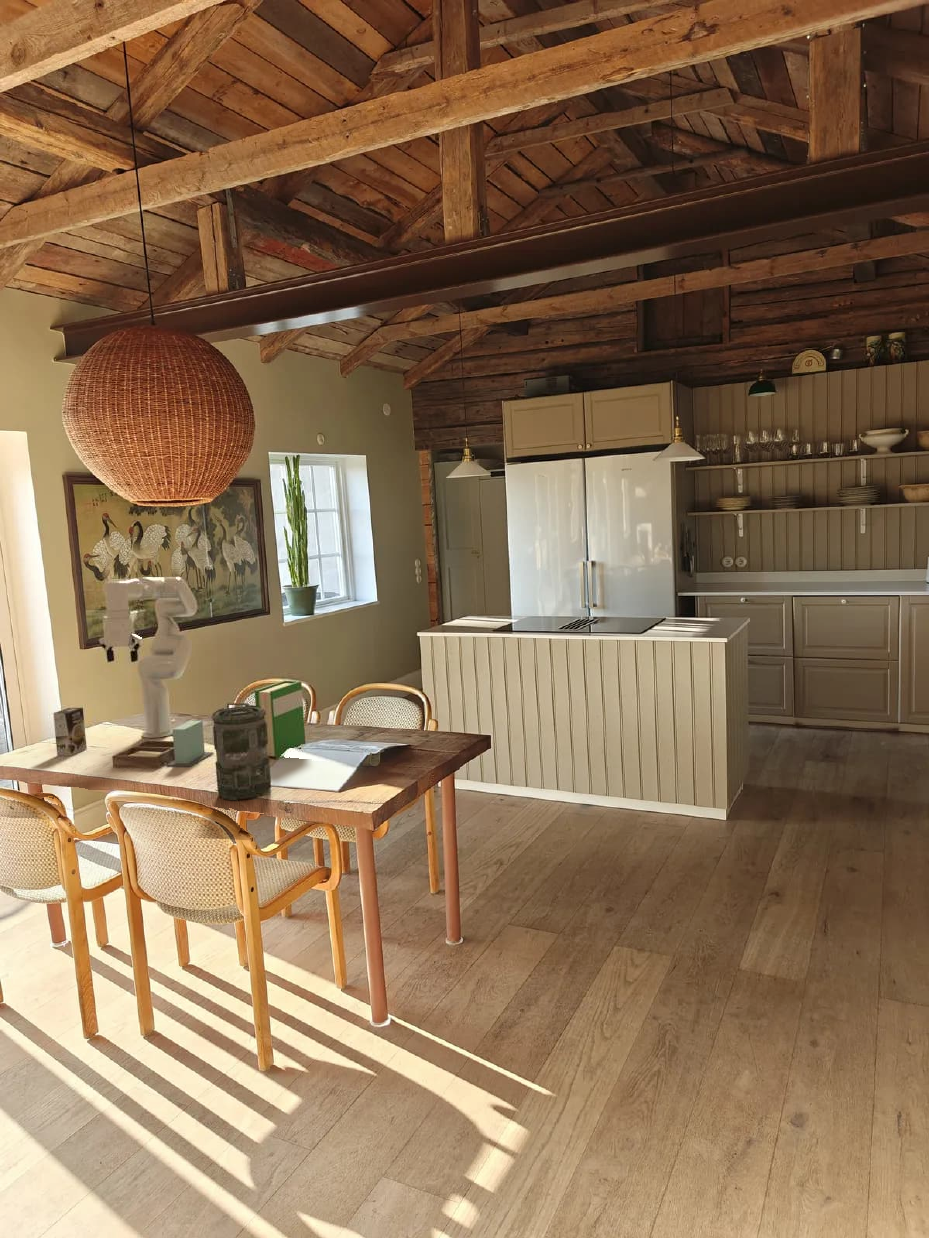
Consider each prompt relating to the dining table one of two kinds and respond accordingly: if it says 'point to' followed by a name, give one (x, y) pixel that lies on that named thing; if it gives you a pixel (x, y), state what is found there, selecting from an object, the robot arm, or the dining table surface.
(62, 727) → the coffee box
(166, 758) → the rack
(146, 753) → the offcut upper
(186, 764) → the mat
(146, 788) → the dining table surface
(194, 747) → the pale green square slab
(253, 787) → the canister
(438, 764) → the dining table surface
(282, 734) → the hardback book
